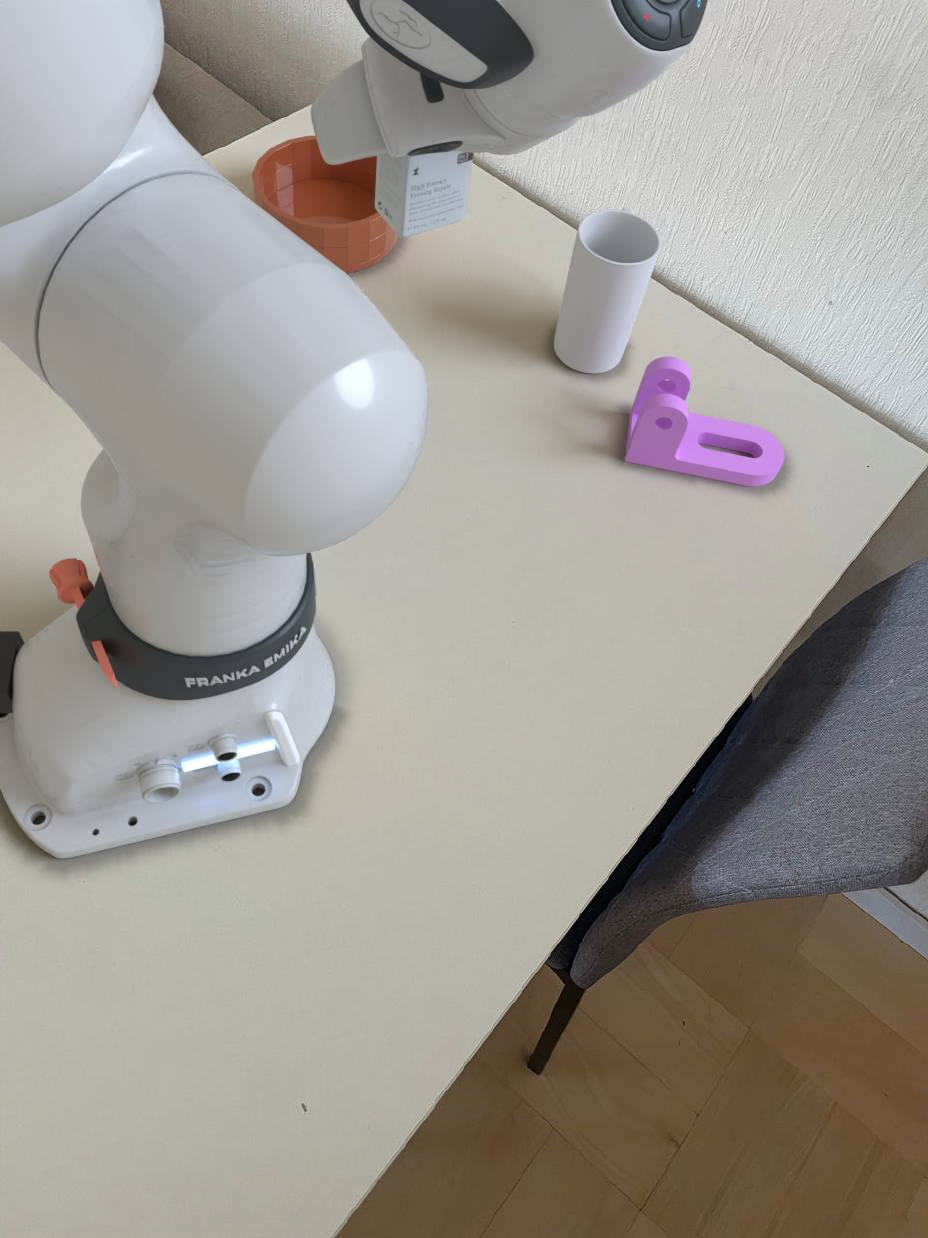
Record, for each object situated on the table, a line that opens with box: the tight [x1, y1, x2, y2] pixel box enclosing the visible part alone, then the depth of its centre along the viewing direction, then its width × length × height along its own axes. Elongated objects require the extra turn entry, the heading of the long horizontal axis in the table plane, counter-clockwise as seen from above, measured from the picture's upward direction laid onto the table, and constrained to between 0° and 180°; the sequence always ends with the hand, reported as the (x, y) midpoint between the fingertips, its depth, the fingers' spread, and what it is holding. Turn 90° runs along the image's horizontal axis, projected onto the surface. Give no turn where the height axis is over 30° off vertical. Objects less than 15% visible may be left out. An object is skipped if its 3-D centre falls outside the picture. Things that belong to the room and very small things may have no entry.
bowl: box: [251, 135, 399, 274], centre depth 94 cm, size 13×13×5 cm
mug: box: [553, 206, 662, 375], centre depth 87 cm, size 10×7×12 cm, turn 164°
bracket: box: [624, 356, 785, 487], centre depth 83 cm, size 13×6×7 cm, turn 81°
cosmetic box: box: [375, 151, 475, 239], centre depth 74 cm, size 6×4×12 cm
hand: (422, 129), depth 74 cm, fingers closed on cosmetic box, 6 cm apart
